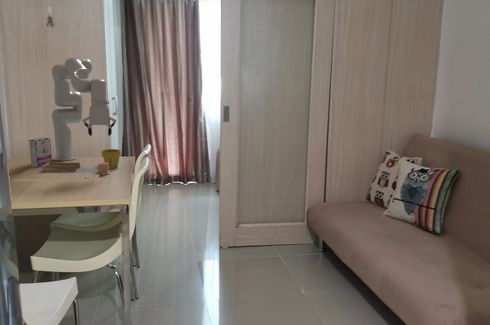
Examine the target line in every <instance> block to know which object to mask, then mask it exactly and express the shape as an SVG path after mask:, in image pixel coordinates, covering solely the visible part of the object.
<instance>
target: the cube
mask: <svg viewBox="0 0 490 325" xmlns="http://www.w3.org/2000/svg"><path fill="white" fill-rule="evenodd" d="M97 166H98V169H97V173H99V174H101V173H109V171H110V168H109V162H106V163H105V162H98V163H97Z"/></svg>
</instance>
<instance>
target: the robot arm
mask: <svg viewBox="0 0 490 325" xmlns="http://www.w3.org/2000/svg"><path fill="white" fill-rule="evenodd" d="M92 70H93V64H92V62H91V60H90V59H88V58H81V57H69V58H67V59H66V60H65V62H64V64H62V63H61V64H60V63H59V64H54V65H53V67H52V69H51V74H52V78H53V83H54V104H55V106H57V107H58V108H55V109H53V111H52V112H51V119H52V122H53V123H52V124H53V130H54V144H55V145H54V146H55V156H54V157H53V160H54V161H57V162H58V161H60V162H64V161H65V162H66V161H72V160H75V159H76V156H74V155H73V146H72V145H73V144H72V131H71V128H70V127H69V126H68V124H69V125H71V124H72V125H73V124H79V123H81V121H82V123H83V125H84V126H85V127H86V128H87V132H88V135H89V137H91V136H92V135H93V128H92V126H107V128H108V129H107V134H108V135H107V136H108V137H111V135H112V130H113V129H112V128H113V127H114V126H115V124H116V123H117V119H115V118H113V117H111V116H110V110H109V106H108V104H110V101H109V100H107V89H106V86H107V85H106V84H107V83H106V81H105V79H99V78H88V77H89V75H90V73H91V72H93V71H92ZM69 80H70V81H69ZM71 88H72V89H74V90H71ZM82 94H90V101H91V102H90V104H91V105H90V106H89V111H88V115H89V116H88V117H85V118H84V119H82V118H83V96H82ZM59 107H61V108H59ZM62 107H63V108H62ZM67 107H68V108H67ZM87 121H89V122H88V123H89V124H88V123H87ZM111 121H112V123H111Z"/></svg>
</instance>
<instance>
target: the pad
mask: <svg viewBox="0 0 490 325" xmlns="http://www.w3.org/2000/svg"><path fill="white" fill-rule="evenodd" d="M100 173H101V172H100ZM100 173H99V174H98V175H99V176H100V175H101V176H105V175H108V176H109V175H111V174H112V170H109V173H101V174H100Z"/></svg>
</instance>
